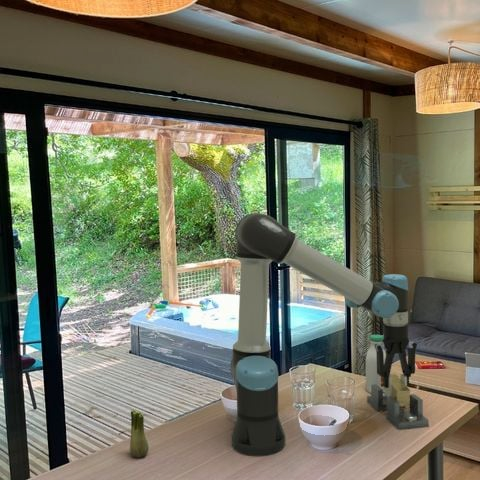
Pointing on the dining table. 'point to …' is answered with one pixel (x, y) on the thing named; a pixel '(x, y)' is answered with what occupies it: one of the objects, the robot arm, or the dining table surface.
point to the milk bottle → (373, 364)
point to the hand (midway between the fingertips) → (396, 396)
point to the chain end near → (406, 413)
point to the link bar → (400, 391)
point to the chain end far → (378, 399)
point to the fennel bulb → (138, 435)
